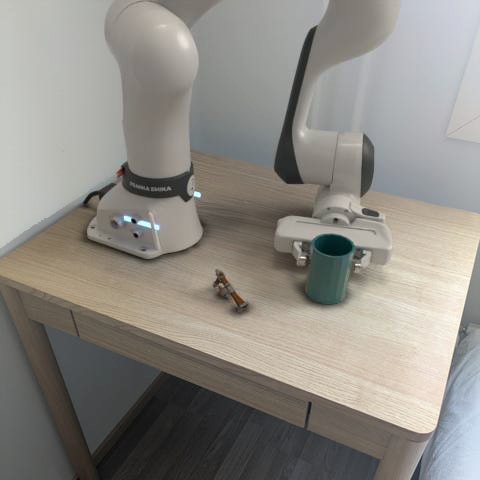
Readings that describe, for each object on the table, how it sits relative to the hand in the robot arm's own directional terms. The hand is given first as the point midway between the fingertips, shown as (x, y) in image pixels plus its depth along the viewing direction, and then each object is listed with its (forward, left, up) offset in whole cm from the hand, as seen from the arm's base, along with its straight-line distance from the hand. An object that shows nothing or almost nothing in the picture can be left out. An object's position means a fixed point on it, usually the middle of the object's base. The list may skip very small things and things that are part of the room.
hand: (329, 266), depth 81 cm
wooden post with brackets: (-15, -8, -5) cm, 18 cm away
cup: (0, 0, -5) cm, 5 cm away
